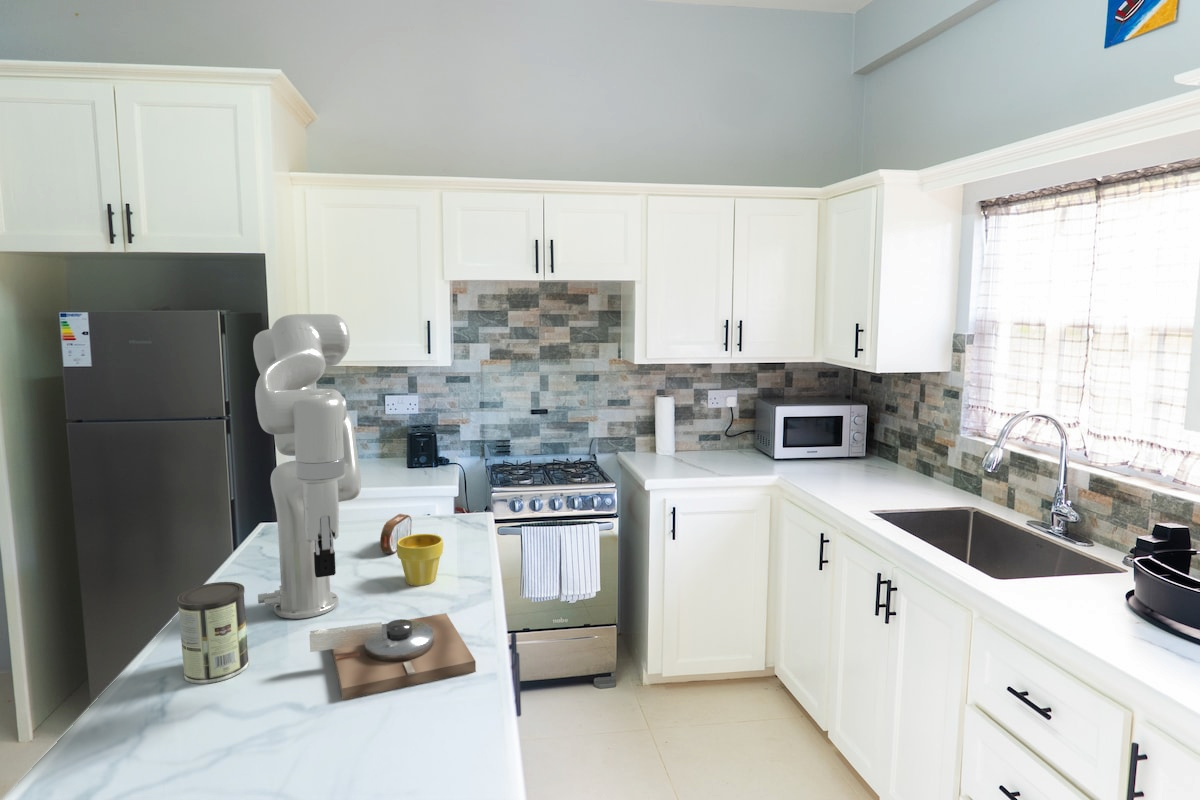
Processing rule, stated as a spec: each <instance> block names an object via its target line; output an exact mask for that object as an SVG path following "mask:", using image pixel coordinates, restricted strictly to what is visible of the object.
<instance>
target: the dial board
mask: <svg viewBox="0 0 1200 800" xmlns="http://www.w3.org/2000/svg"><path fill="white" fill-rule="evenodd" d="M408 620H409V621H417V622H422V623H425V624H427V625H429V626H431V627H432V629H433V635H434V644H433V646H432V648H431V649H430V650H429V651H427V652H426V653H424V654H422V655H420V656H418V657H415V658H412V659H408V660H403V661H393V662H390V661H379V660H375V659H372V658H370V657H369V656H368V655H367V654H366V652H365V645H358V646H351V647H344V648H336V649H331V652H332V656H333V661H334V666H335V670H336V675H337V680H338V681H337V682H338V685H339V688H340V694H341V698H342V699H341V700H342V701H345V700H350V699H355V698H359V697H363V696H364V697H365V696H369V695H373V694H378V693H381V692H386V691H391V690H396V689H401V688H406V687H411V686H415V685H420V684H424V683H430V682H433V681H439V680H443V679H446V678H447V679H448V678H452V677H457V676H460V675H461V676H463V675H466V674H470V673H476V672H477V671H476V670H477V667H476V664H477V663H476V659H475V658H474V656H473V655H472V653H471V652H470V650H469V648H468V646H467V645H466V643H465V642H464V640H463V638H462V636H461V635H460V633H459V632H458V630H457V629H456V627H455V626H454V624H453V622H452V621H451V619H450V618H449V616H448V614H447V613H446V612H444V613H439V614H434V615H427V616H422V617H417V618H416V617H415V618H410V619H408ZM388 623H389V622H388ZM388 623H386V624H388ZM384 624H385V623H384ZM384 624H382V625H384Z"/></svg>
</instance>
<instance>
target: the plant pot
mask: <svg viewBox="0 0 1200 800" xmlns="http://www.w3.org/2000/svg"><path fill="white" fill-rule="evenodd" d="M396 553H397V557H398V559H399V560H400V563H401V566H402V570H403V575H404V577H405V581H406V583H407V585H409V584H410V586H413V585H414V586H415V587H420V586H421V587H422V586H426V585H430V584H432V583H434V582H435V581H436V578H437V573H438V569H439V564H440V559H441V556H442V555H443V553H444V539H443V537H442V536H440V535H438V534H434V533H416V534H411V535H410V536H406V537H403V538H401V539H399V540H398V542H397V552H396Z"/></svg>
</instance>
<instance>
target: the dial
mask: <svg viewBox="0 0 1200 800" xmlns="http://www.w3.org/2000/svg"><path fill="white" fill-rule="evenodd" d="M409 620H410V619H394V620H391V621H390V622H388V624H387V623H384V625H382V621H381V622H373V623H372V622H371V623H362V624H356V625H348V626H341V627H339V626H338V627H332V628H325V629H318V630H311V631H309V651H310V653H313V652H314V653H315V652H320V651H329V650H332V649H336V648H344V647H351V646H358V645H365V652H366V654H367V655H368V656H369V657H370V658H372V659H375V660H379V661H390V662H393V661H403V660H408V659H412V658H415V657H418V656H420V655H422V654H424V653H426V652H427V651H429V650H430V649H431V648H432V646H433V644H434V635H433V629H432V627H431V626H429V625H427V624H425V623H422V622H417V621H409Z"/></svg>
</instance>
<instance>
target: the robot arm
mask: <svg viewBox="0 0 1200 800" xmlns="http://www.w3.org/2000/svg"><path fill="white" fill-rule="evenodd" d="M350 338H351V336H350V330H349V328H348V325H347V323H346V321H345V320H344V319H343V318H342V317H341V316H339V315H337V314H331V313H325V314H324V313H323V314H322V313H321V314H320V313H319V314H317V313H313V314H311V313H310V314H307V313H305V314H302V313H301V314H300V313H294V314H286V315H283V316H282V317H280V318H278V319H277V320H276V321H275V322H273V324H272V327H271V328H269V329H264V330H261V331H259V332H258V333H257V334H255V336H254V339H253V343H252V345H253V346H252V347H253V348H252V349H253V357H254V361H255V365H256V368H257V370H258V372H259V373H258V374H260V375H259V377H258V379H257V381H256V384H255V385H256V386H255V390H254V391H255V392H254V393H255V394H254V397H255V407H256V412H257V419H258V423H259V425H260V427H261V429H262V430H263V431H264V432H266V433H267V434H270V435H273V436H274V437H273V438H274V443H275V447H276V449H277V451H278V452H279V453H280V454H282V456H289V457H291V456H292V457H293V456H294V457H295V460H290V461H286V462H283V463H281V464H278V465H277V466H276V467H275V468H274V469H273V470H272V472H271V475H270V487H271V493H272V497H273V502H274V506H275V512H276V520H277V521H276V523H277V535H278V536H277V537H278V552H279V553H278V555H279V568H280V570H279V571H280V572H279V573H280V585H279V588H278V590H274V592H270V593H269V592H268V593H267V592H266V593H258V594H257V604H259V605H260V604H264V607H266V606H272V605H274V607H273V610H274V613H275V615H276V616H278V617H280V618H283V619H293V620H294V619H307V618H312V617H317V616H321V615H323V614H326V613H329V612H330V611H332V610H334V609H335V608H336V607H337V606H338V604H339V596H338V595H337V594H336V593H335V592H332V591H331V584H330V583H331V581H330V580H331V579H330V577H333V576H335V575H336V553H335V547H334V540H336V539H338V538H339V531H340V530H339V529H340V527H339V525H340V523H339V522H340V521H339V518H340V515H339V514H340V513H339V510H340V508H339V506H340V505H339V503H341V502H346V501H351V500H354V499H355V498H356V499H357V497H359V495H360V493H361V489H362V477H361V469H360V462H359V461H360V460H359V454H358V453H359V452H358V447H357V441H356V440H357V439H356V432H355V427H354V423H353V419H352V417H351V416H350V414H349V413H348V407H347V401H346V398H345V397H344V396H343V395H342V393H340V391H339V390H336V389H334V388H312V387H311V385H313V384H314V383H316V382H318V381H319V380H320V379H321V377H322V376H323V375H324V373H325V370H326V367H333V366H337V365H338V364H339V363H340V362H341V361H342V360H343V359H344V357H345V356H346V355H347V353H348V351H349V349H350V342H351V339H350Z"/></svg>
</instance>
